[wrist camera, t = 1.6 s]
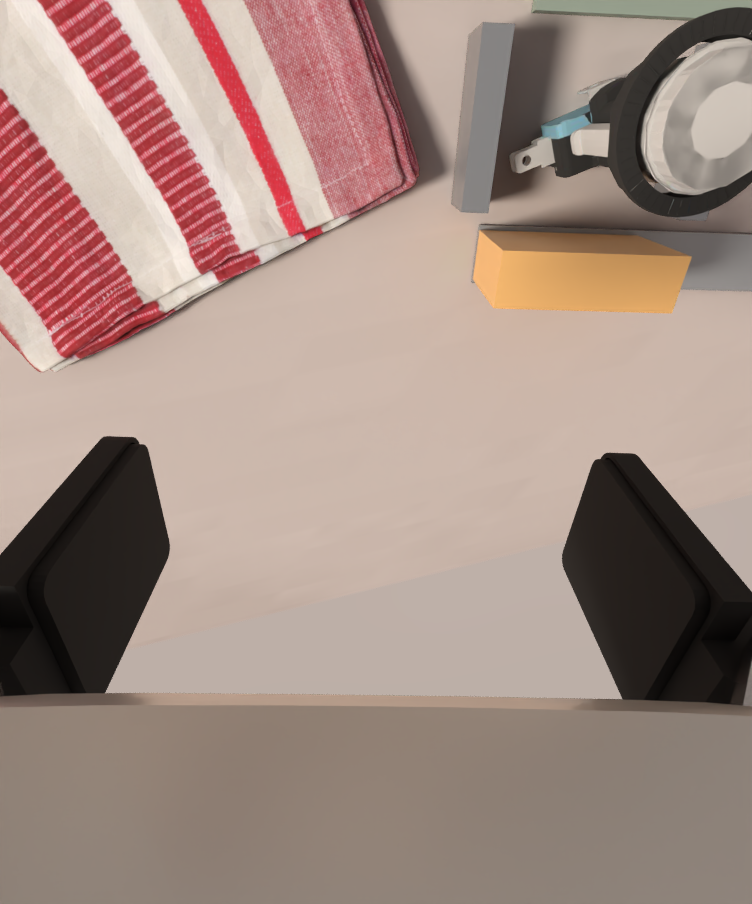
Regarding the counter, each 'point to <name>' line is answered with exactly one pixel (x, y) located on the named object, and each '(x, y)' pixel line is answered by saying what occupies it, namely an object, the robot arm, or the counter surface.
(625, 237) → the block
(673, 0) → the pad
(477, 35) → the cradle
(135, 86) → the dish towel
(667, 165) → the black stemmed piece
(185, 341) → the counter surface
